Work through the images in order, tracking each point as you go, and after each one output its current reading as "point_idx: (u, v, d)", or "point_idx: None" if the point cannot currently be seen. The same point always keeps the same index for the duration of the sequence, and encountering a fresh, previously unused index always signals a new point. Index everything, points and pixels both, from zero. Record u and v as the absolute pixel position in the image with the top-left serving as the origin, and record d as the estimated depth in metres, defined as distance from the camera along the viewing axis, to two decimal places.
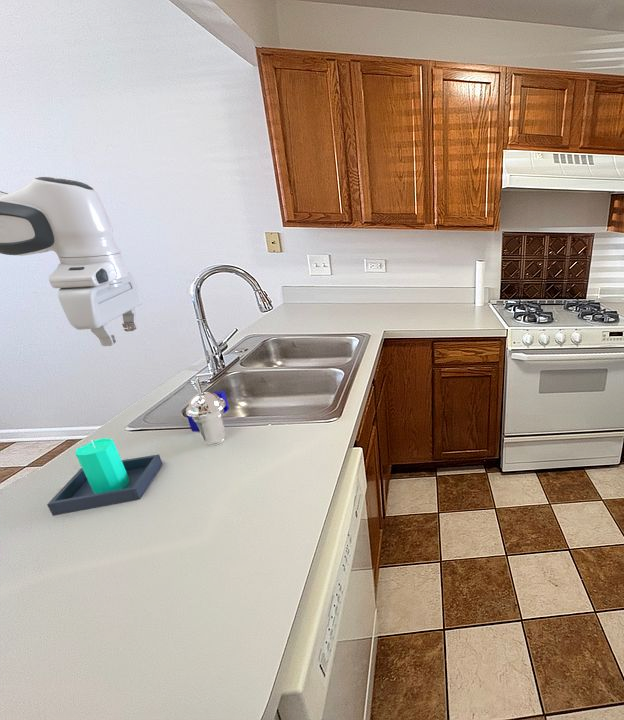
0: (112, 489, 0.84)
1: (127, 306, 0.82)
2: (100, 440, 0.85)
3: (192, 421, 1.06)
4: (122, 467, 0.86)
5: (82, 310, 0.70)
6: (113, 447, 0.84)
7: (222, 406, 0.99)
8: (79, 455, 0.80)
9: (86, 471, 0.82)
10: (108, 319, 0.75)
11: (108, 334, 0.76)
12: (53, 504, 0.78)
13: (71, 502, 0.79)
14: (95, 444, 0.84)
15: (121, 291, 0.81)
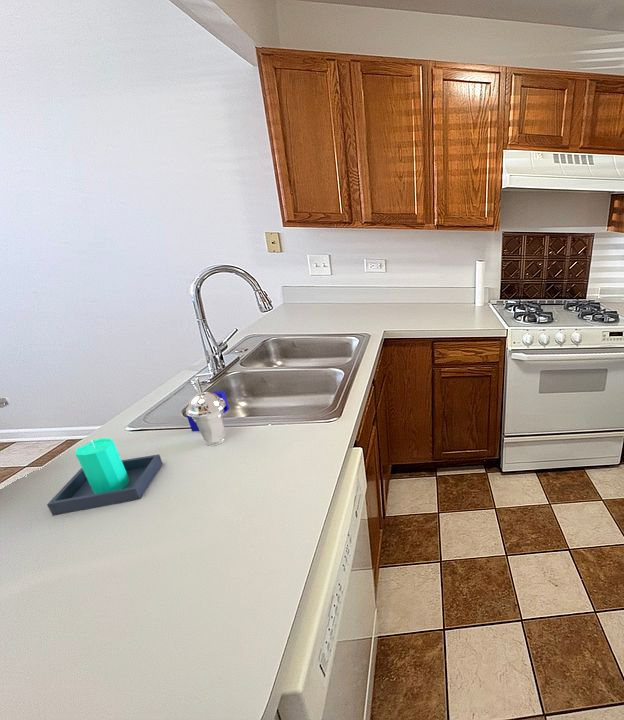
0: (112, 489, 0.84)
1: None
2: (100, 440, 0.85)
3: (192, 421, 1.06)
4: (122, 467, 0.86)
5: None
6: (113, 447, 0.84)
7: (222, 406, 0.99)
8: (79, 455, 0.80)
9: (86, 471, 0.82)
10: None
11: None
12: (53, 504, 0.78)
13: (71, 502, 0.79)
14: (95, 444, 0.84)
15: None
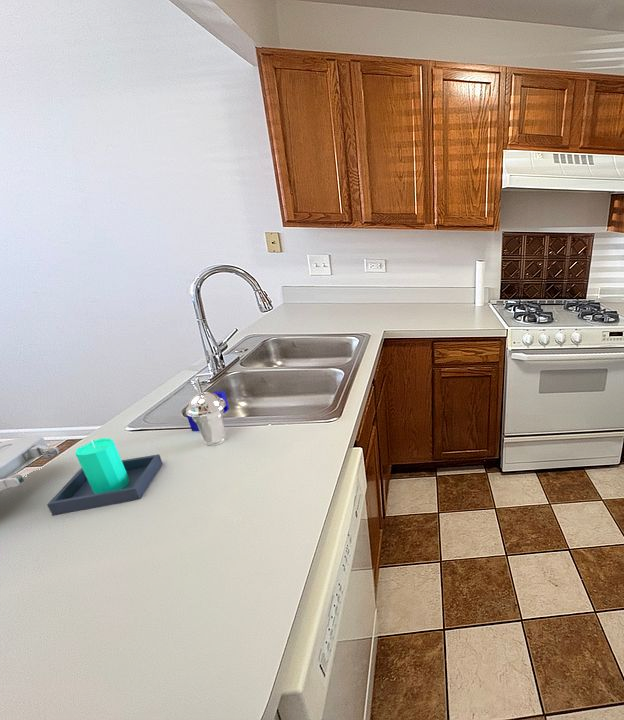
0: (112, 489, 0.84)
1: (10, 454, 0.81)
2: (100, 440, 0.85)
3: (192, 421, 1.06)
4: (122, 467, 0.86)
5: None
6: (113, 447, 0.84)
7: (222, 406, 0.99)
8: (79, 455, 0.80)
9: (86, 471, 0.82)
10: None
11: None
12: (53, 504, 0.78)
13: (71, 502, 0.79)
14: (95, 444, 0.84)
15: None
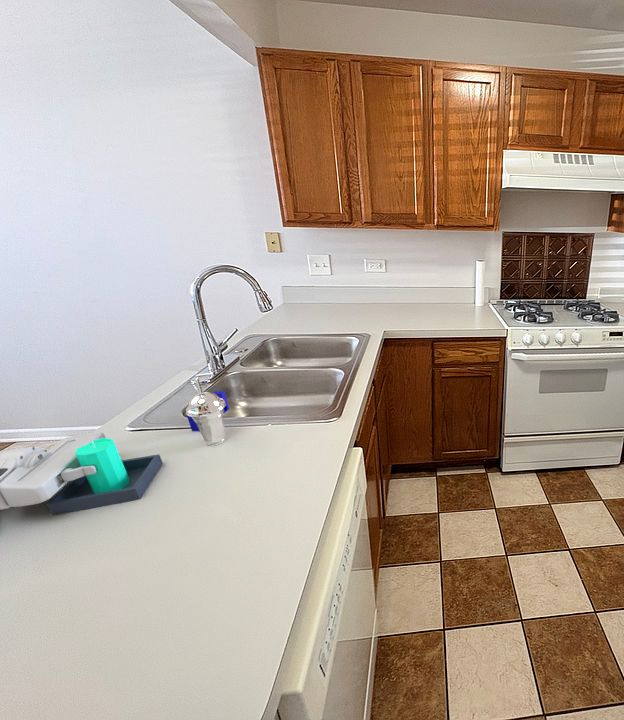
0: (112, 489, 0.84)
1: None
2: (100, 440, 0.85)
3: (192, 421, 1.06)
4: (123, 467, 0.86)
5: (18, 495, 0.73)
6: (113, 447, 0.84)
7: (222, 406, 0.99)
8: (79, 455, 0.80)
9: None
10: (52, 473, 0.77)
11: (77, 469, 0.80)
12: (53, 504, 0.78)
13: (71, 502, 0.79)
14: (95, 444, 0.84)
15: (62, 451, 0.84)
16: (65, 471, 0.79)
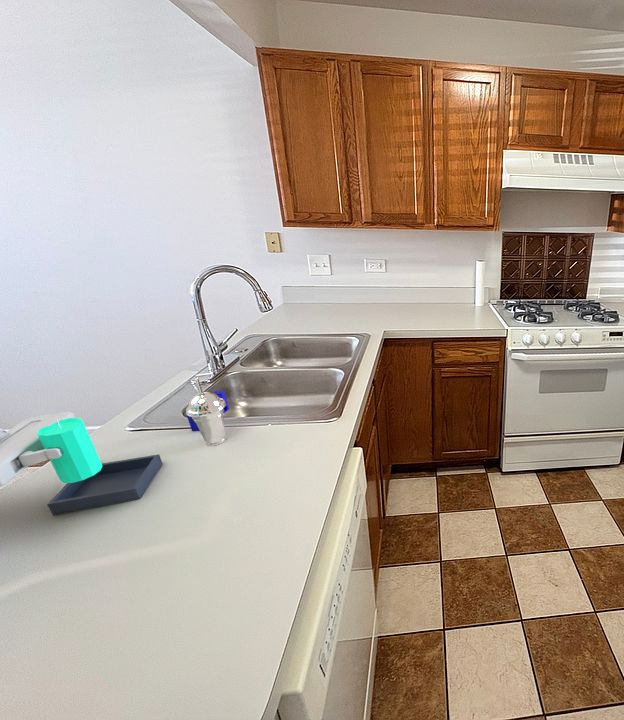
0: (81, 476, 0.74)
1: None
2: (68, 420, 0.74)
3: (192, 421, 1.06)
4: (94, 452, 0.76)
5: None
6: (82, 428, 0.73)
7: (222, 406, 0.99)
8: (41, 436, 0.69)
9: None
10: (7, 456, 0.67)
11: (39, 452, 0.69)
12: (53, 504, 0.78)
13: (71, 502, 0.79)
14: (61, 424, 0.73)
15: (23, 432, 0.74)
16: (24, 454, 0.68)
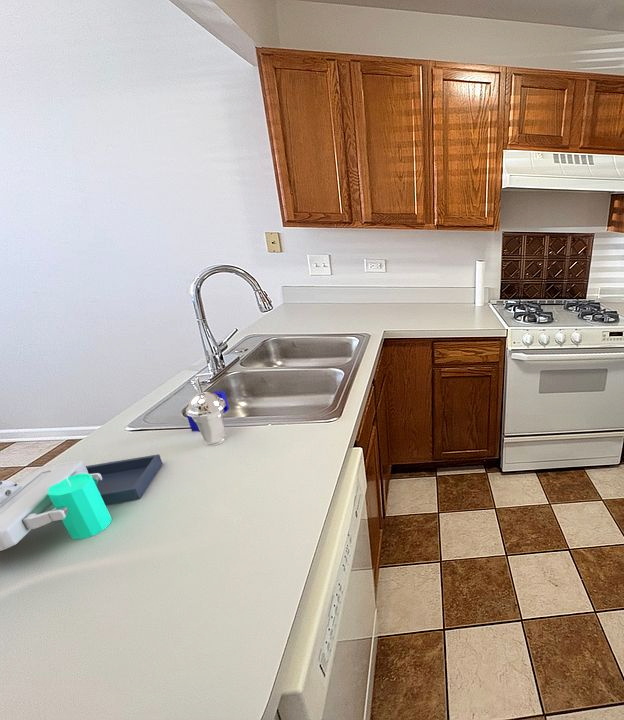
0: (91, 532, 0.74)
1: (51, 483, 0.74)
2: (77, 476, 0.75)
3: (192, 421, 1.06)
4: (103, 506, 0.76)
5: None
6: (92, 484, 0.74)
7: (222, 406, 0.99)
8: (51, 495, 0.70)
9: None
10: (19, 513, 0.67)
11: (43, 514, 0.68)
12: None
13: None
14: (71, 481, 0.74)
15: (34, 485, 0.74)
16: (28, 517, 0.67)
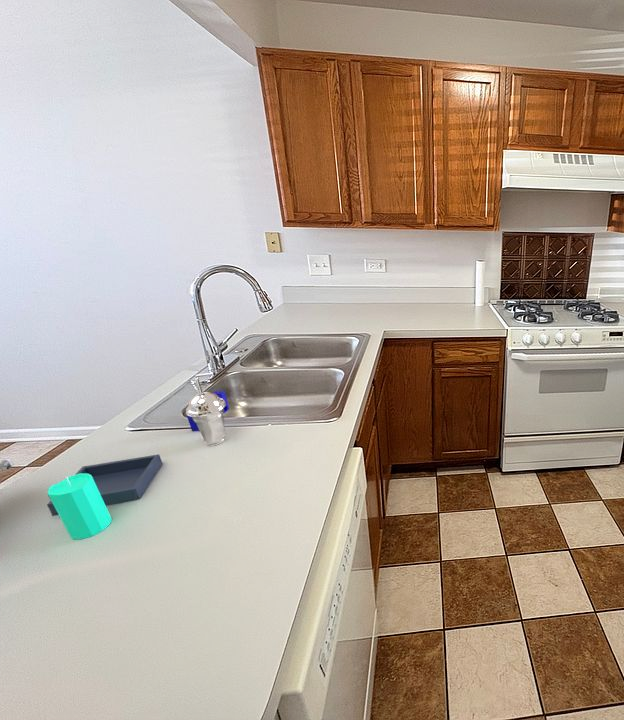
0: (91, 532, 0.74)
1: None
2: (77, 476, 0.75)
3: (192, 421, 1.06)
4: (103, 506, 0.76)
5: None
6: (92, 484, 0.74)
7: (222, 406, 0.99)
8: (52, 495, 0.70)
9: (60, 513, 0.71)
10: None
11: None
12: None
13: None
14: (71, 481, 0.74)
15: None
16: None
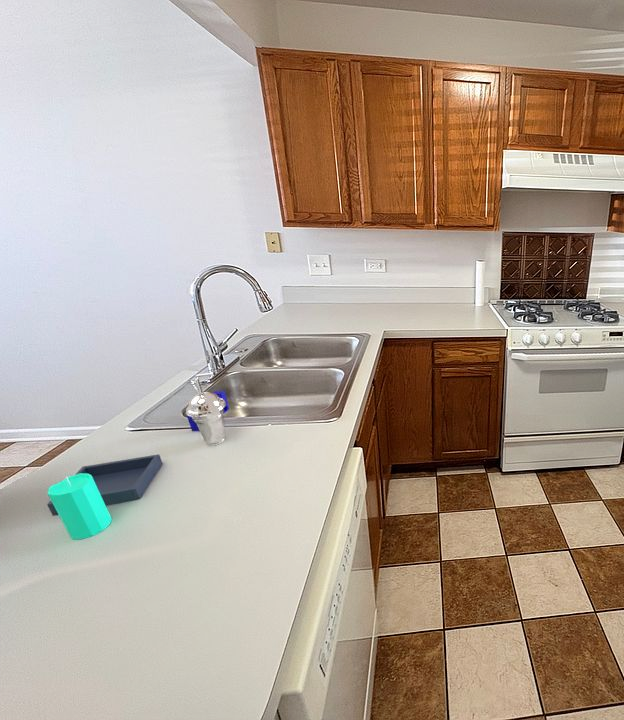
0: (91, 532, 0.74)
1: None
2: (77, 476, 0.75)
3: (192, 421, 1.06)
4: (103, 506, 0.76)
5: None
6: (92, 484, 0.74)
7: (222, 406, 0.99)
8: (51, 495, 0.70)
9: (60, 513, 0.71)
10: None
11: None
12: None
13: None
14: (71, 481, 0.74)
15: None
16: None
